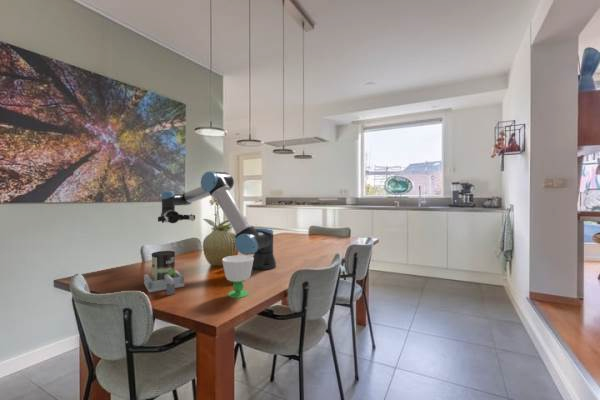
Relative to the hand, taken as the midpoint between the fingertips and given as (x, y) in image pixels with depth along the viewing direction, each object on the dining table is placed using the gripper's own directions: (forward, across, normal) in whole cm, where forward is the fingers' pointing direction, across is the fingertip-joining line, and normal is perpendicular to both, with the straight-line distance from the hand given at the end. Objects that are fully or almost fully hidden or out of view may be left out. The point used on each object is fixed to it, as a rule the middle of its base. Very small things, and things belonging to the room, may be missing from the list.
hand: (180, 219), depth 163 cm
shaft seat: (+23, +13, -30) cm, 40 cm away
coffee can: (+18, +13, -28) cm, 36 cm away
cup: (+51, -12, -30) cm, 60 cm away
